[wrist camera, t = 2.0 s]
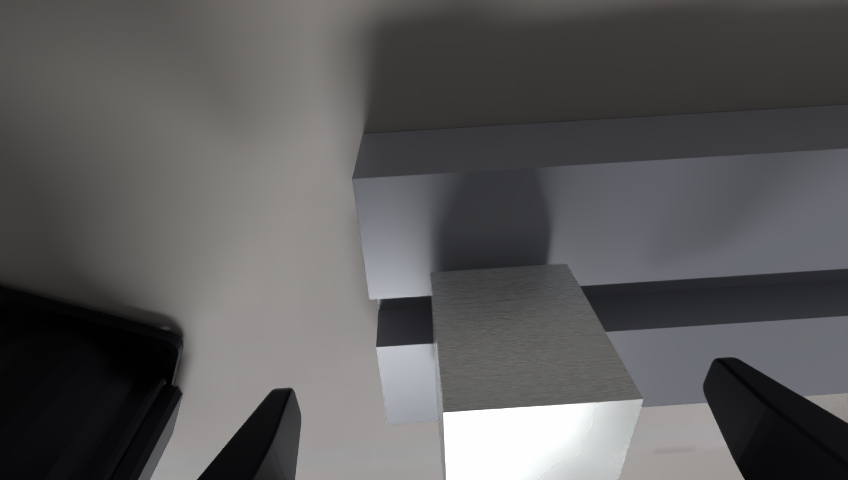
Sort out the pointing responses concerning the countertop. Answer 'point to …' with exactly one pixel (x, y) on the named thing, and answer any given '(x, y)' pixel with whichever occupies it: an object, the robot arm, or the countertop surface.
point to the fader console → (624, 239)
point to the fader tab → (527, 378)
